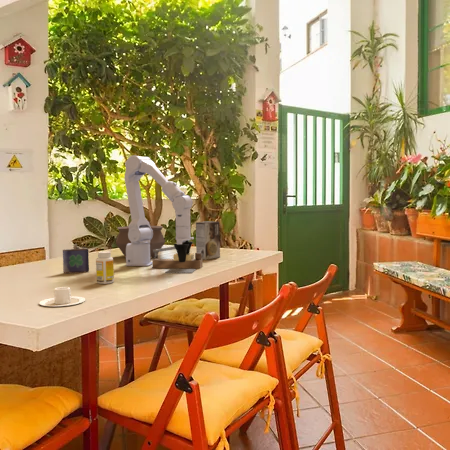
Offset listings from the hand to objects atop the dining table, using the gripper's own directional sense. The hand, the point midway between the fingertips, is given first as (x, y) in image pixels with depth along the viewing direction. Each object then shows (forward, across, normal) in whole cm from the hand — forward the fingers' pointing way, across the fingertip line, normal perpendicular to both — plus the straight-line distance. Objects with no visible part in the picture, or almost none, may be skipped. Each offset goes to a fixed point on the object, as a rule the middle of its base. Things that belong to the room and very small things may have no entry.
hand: (183, 260), depth 195 cm
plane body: (+2, 0, +2) cm, 4 cm away
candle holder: (+3, -63, +20) cm, 66 cm away
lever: (-1, +6, +8) cm, 10 cm away
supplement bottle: (+3, -34, +19) cm, 39 cm away
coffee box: (+3, +28, -5) cm, 29 cm away
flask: (+3, -14, +38) cm, 41 cm away
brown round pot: (+3, +31, +27) cm, 41 cm away
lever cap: (0, 0, 0) cm, 0 cm away
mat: (+2, -10, -1) cm, 10 cm away
